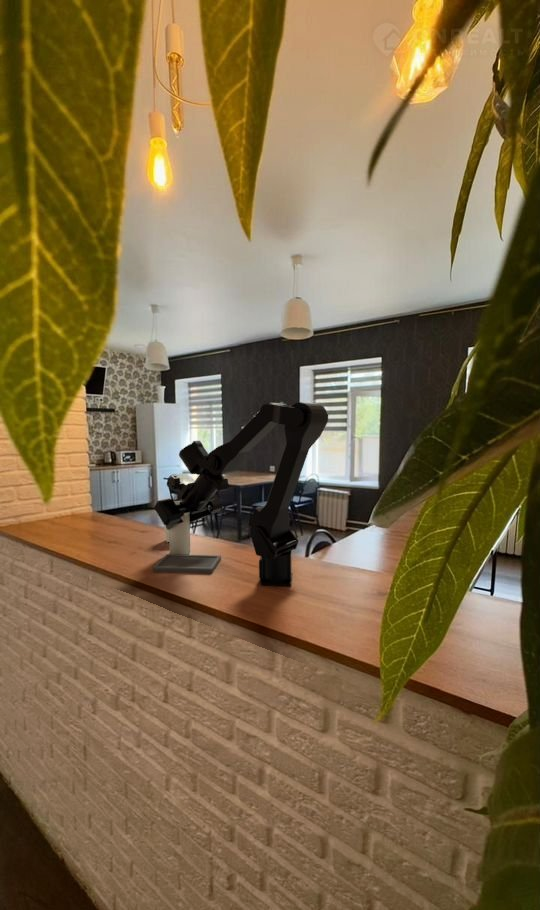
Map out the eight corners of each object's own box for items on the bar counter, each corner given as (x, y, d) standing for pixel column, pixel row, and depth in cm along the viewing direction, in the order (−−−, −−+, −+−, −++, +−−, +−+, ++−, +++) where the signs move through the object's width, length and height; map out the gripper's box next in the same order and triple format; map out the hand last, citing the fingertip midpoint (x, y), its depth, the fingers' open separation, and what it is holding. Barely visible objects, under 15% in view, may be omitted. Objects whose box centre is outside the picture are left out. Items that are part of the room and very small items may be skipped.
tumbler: (193, 550, 108) (191, 500, 107) (187, 556, 103) (185, 504, 102) (173, 549, 109) (171, 500, 108) (166, 556, 103) (164, 504, 102)
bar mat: (221, 559, 100) (220, 555, 100) (212, 573, 91) (212, 568, 91) (166, 558, 102) (166, 554, 101) (152, 571, 93) (152, 567, 93)
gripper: (213, 461, 109) (187, 497, 117) (157, 467, 94) (131, 508, 102) (236, 492, 105) (207, 527, 112) (181, 504, 90) (151, 544, 98)
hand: (175, 525), depth 106 cm, fingers closed on tumbler, 5 cm apart
